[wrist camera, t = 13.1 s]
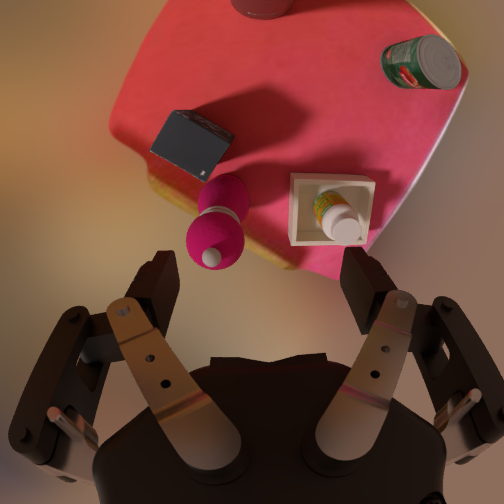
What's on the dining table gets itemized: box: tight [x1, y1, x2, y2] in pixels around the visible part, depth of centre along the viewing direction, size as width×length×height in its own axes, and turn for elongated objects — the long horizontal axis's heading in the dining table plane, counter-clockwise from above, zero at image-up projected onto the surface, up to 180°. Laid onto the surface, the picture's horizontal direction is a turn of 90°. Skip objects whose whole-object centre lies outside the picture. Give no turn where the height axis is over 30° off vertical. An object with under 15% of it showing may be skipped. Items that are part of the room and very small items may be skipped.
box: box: [150, 110, 235, 182], centre depth 33 cm, size 8×6×11 cm
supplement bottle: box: [313, 191, 361, 246], centre depth 38 cm, size 5×5×10 cm
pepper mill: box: [186, 174, 250, 270], centre depth 33 cm, size 7×7×20 cm
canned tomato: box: [380, 34, 462, 90], centre depth 26 cm, size 8×8×11 cm
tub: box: [288, 173, 375, 246], centre depth 41 cm, size 10×12×4 cm
